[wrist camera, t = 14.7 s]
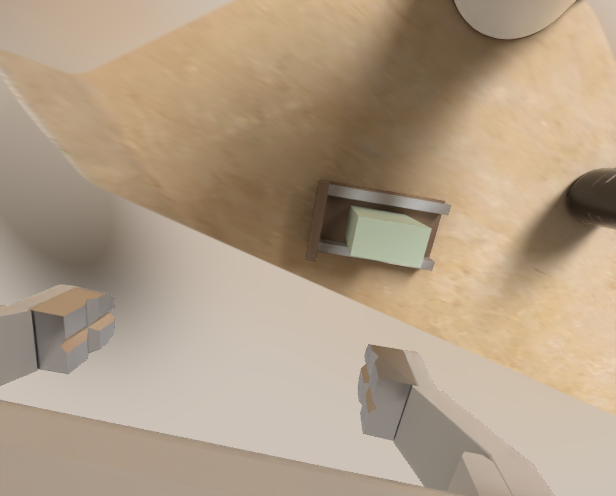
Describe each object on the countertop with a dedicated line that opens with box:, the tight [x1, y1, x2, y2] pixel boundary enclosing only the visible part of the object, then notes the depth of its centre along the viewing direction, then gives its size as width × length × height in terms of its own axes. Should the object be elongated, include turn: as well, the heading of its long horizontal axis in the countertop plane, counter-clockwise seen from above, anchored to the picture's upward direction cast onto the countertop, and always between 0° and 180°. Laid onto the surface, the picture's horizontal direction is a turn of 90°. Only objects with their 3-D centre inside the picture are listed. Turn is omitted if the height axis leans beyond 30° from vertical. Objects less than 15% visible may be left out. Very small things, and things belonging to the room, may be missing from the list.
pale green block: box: [344, 205, 432, 268], centre depth 33 cm, size 7×4×10 cm, turn 81°
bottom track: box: [306, 180, 451, 271], centre depth 35 cm, size 16×9×6 cm, turn 81°
